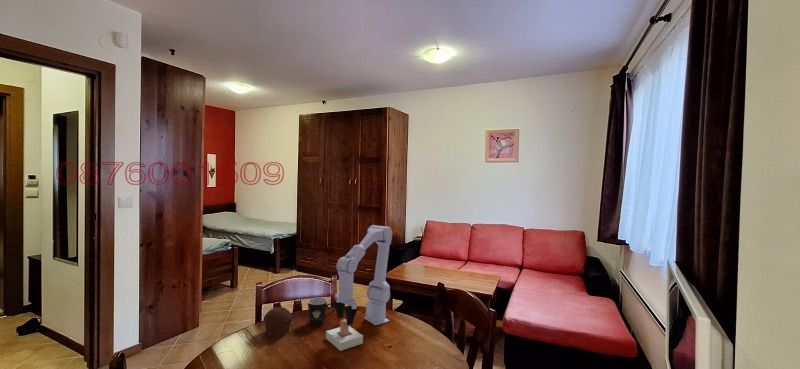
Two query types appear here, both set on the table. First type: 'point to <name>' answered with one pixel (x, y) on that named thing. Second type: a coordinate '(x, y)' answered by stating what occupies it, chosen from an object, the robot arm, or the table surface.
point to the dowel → (344, 328)
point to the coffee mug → (318, 311)
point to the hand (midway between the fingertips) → (344, 321)
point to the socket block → (344, 338)
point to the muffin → (277, 322)
